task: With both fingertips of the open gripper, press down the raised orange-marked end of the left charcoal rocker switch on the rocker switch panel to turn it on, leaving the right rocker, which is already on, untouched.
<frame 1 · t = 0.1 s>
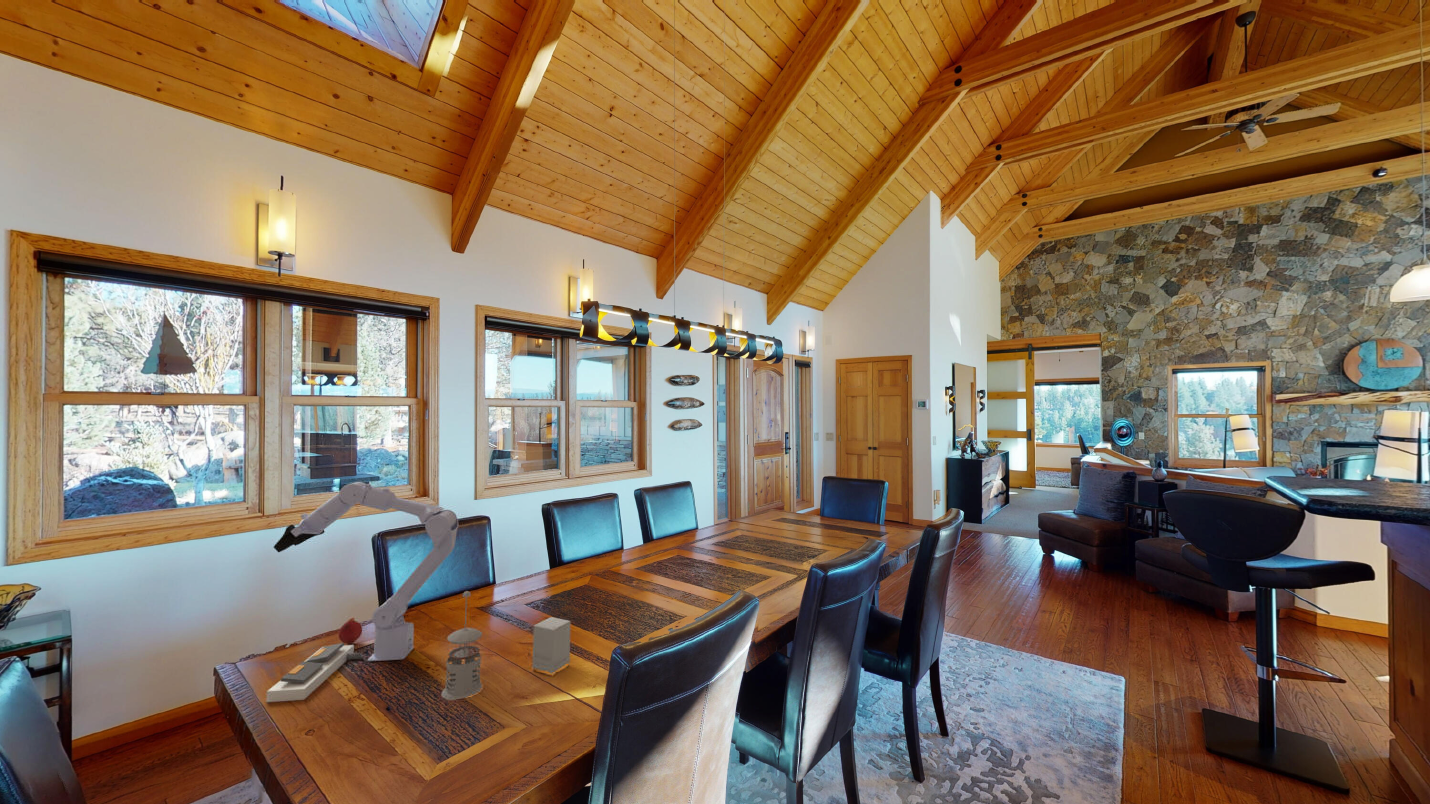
hand: (285, 546, 147), 32 cm above the table, tool tilted 50°, fingers open, 7 cm apart
supplement box: (550, 669, 146), on the table
french press: (462, 689, 134), on the table
rocker switch panel: (313, 675, 139), on the table
onion: (349, 645, 158), on the table
rocker left: (302, 671, 133), point 4 cm above the table, hinge at -10.0°
rocker right: (325, 652, 144), point 4 cm above the table, hinge at 10.0°
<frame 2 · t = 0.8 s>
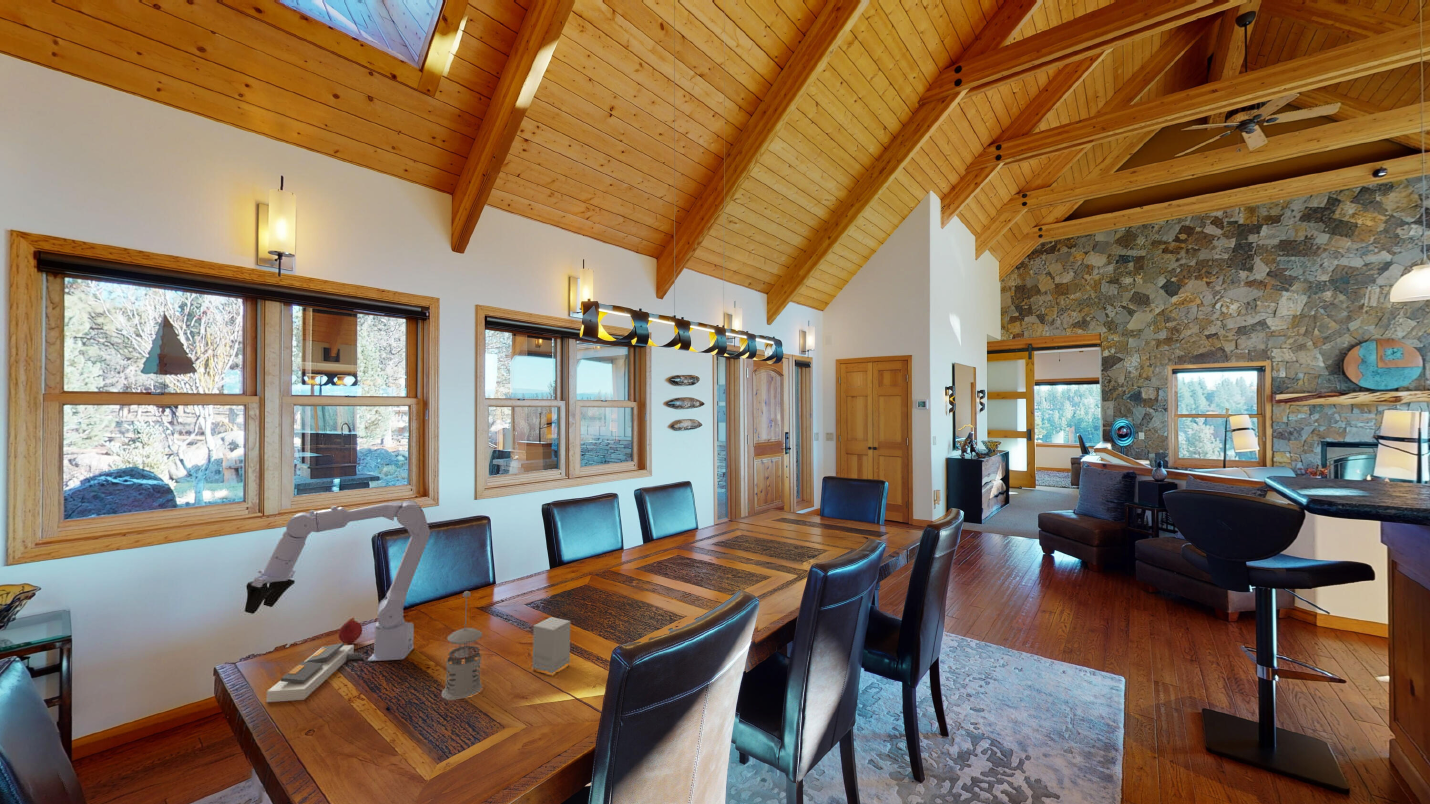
hand: (258, 608, 137), 18 cm above the table, tool tilted 20°, fingers open, 7 cm apart
nothing on the table moved.
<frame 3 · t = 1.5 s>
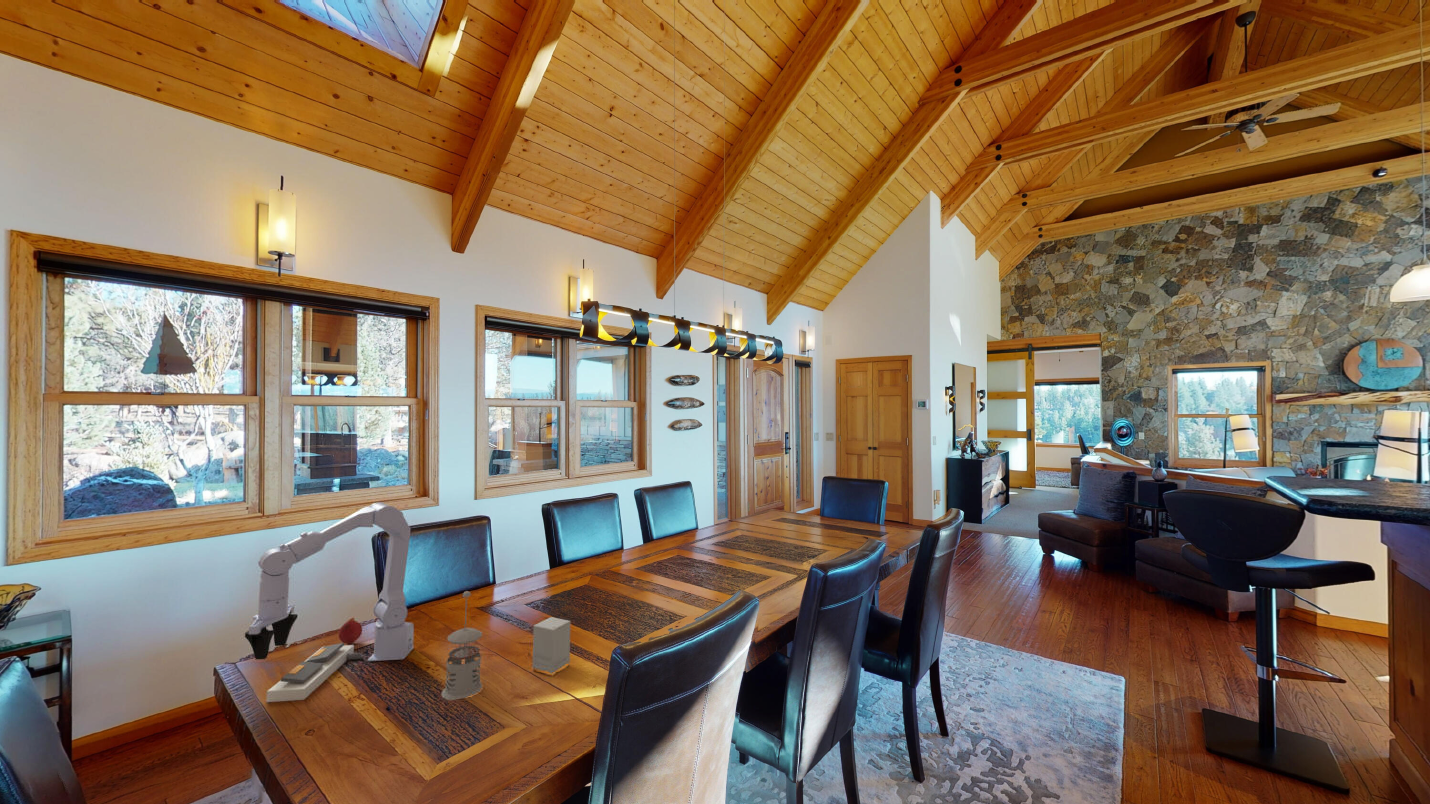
hand: (271, 651, 132), 9 cm above the table, tool pointing down, fingers open, 7 cm apart
nothing on the table moved.
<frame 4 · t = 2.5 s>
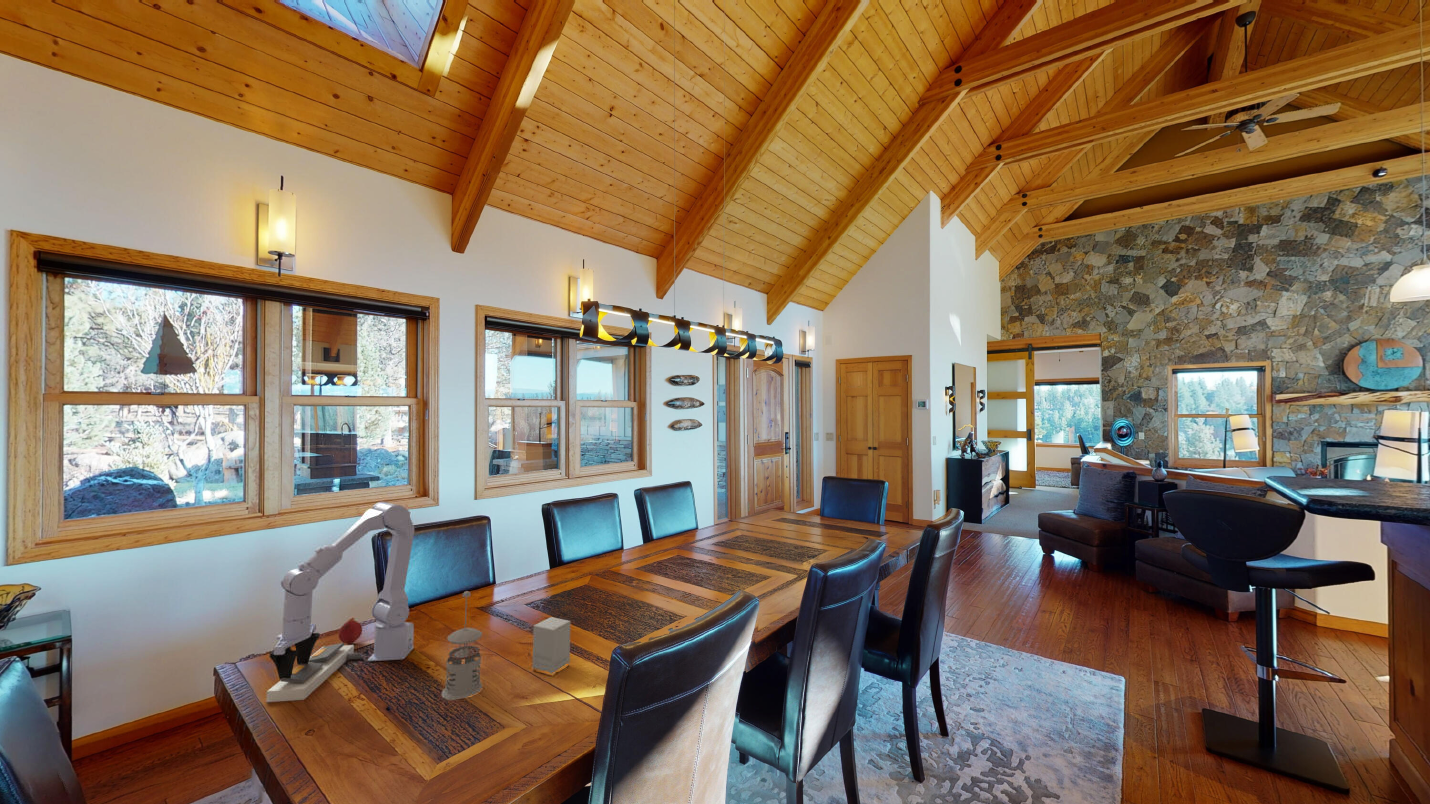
hand: (294, 671, 133), 4 cm above the table, tool pointing down
rocker left: (302, 671, 133), point 4 cm above the table, hinge at -9.9°, touching gripper
everything else where it was.
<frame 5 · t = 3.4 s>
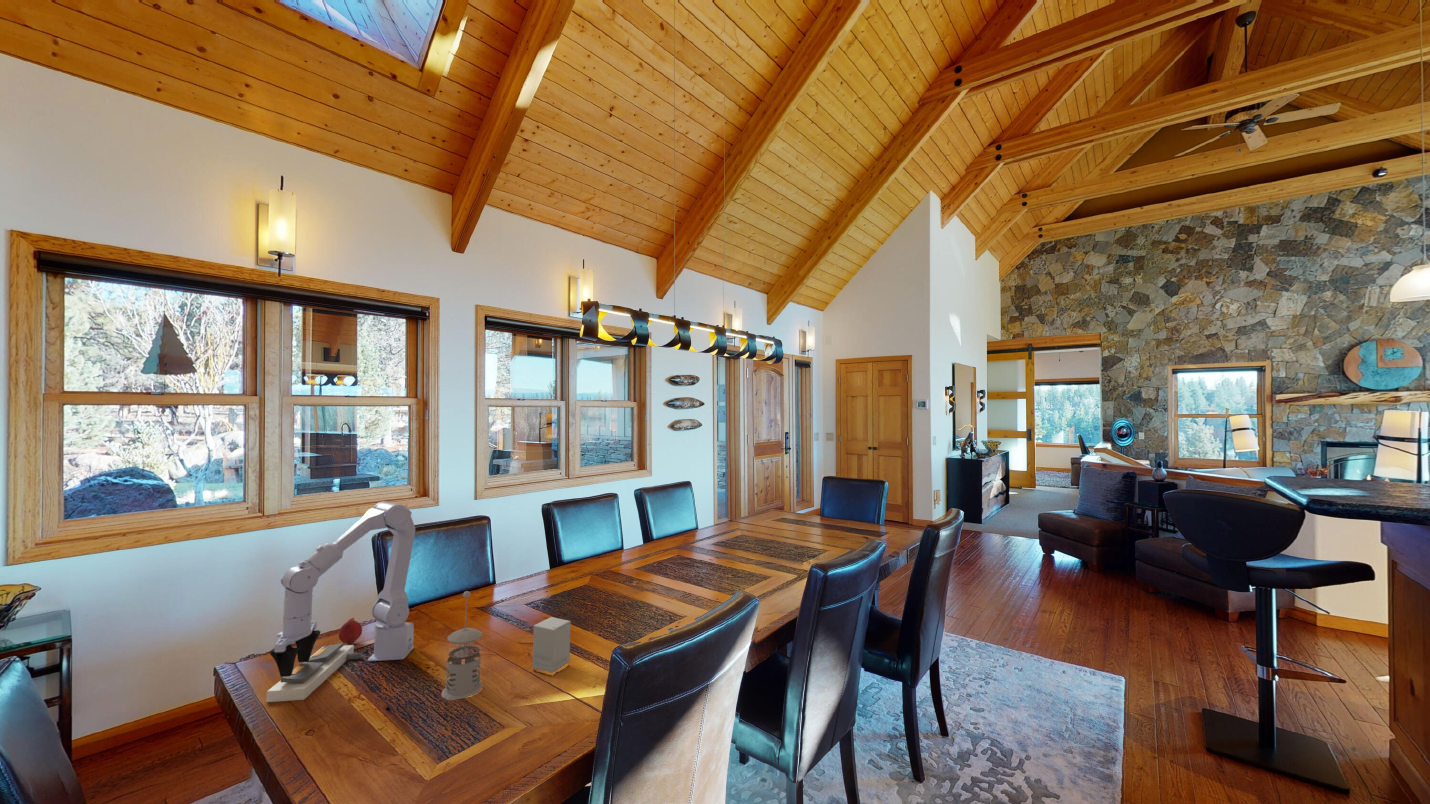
hand: (295, 668, 133), 5 cm above the table, tool pointing down, fingers open, 7 cm apart
rocker left: (302, 671, 133), point 4 cm above the table, hinge at -4.1°
everything else where it was.
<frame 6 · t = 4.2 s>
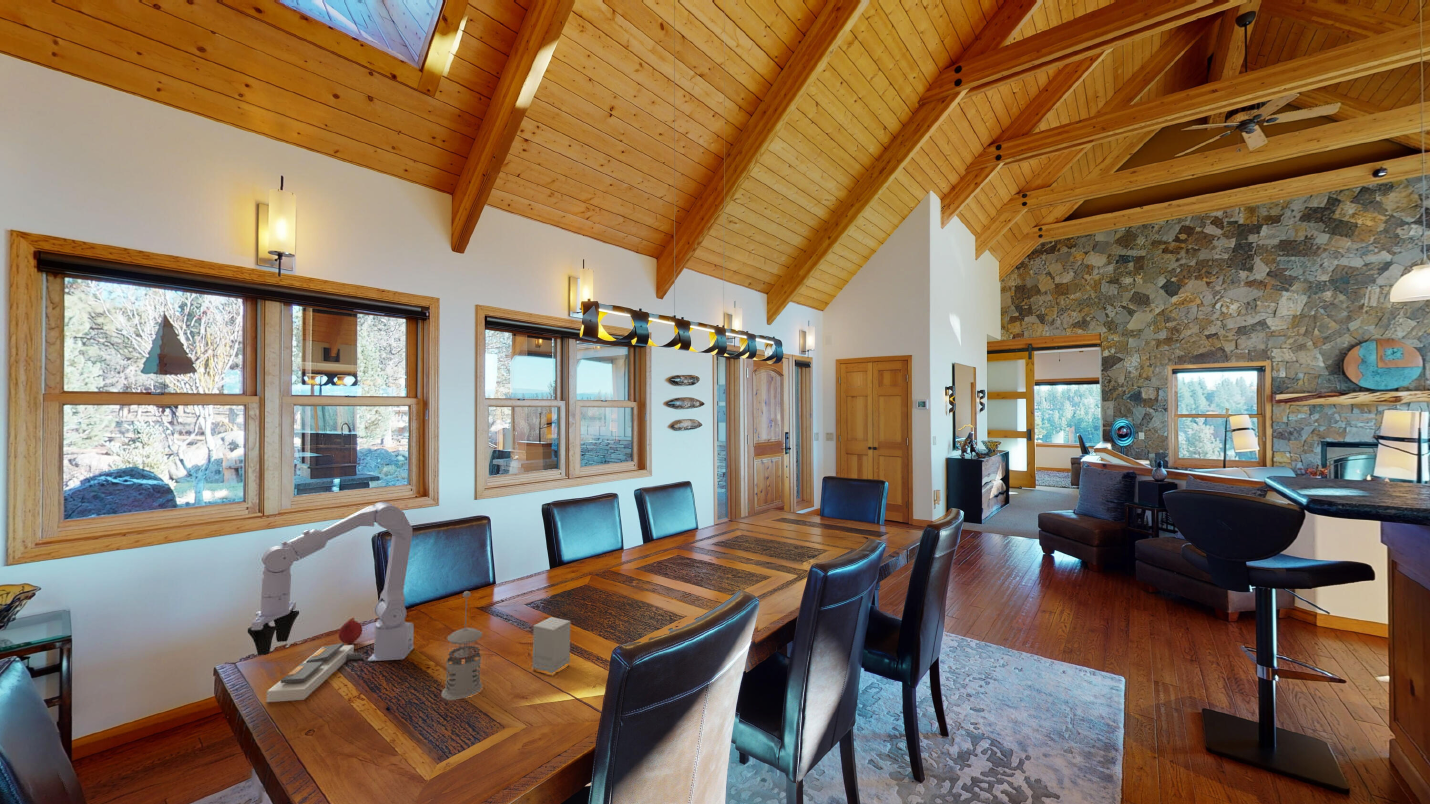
hand: (273, 647, 134), 9 cm above the table, tool pointing down, fingers open, 7 cm apart
rocker left: (302, 671, 133), point 4 cm above the table, hinge at 1.0°
everything else where it was.
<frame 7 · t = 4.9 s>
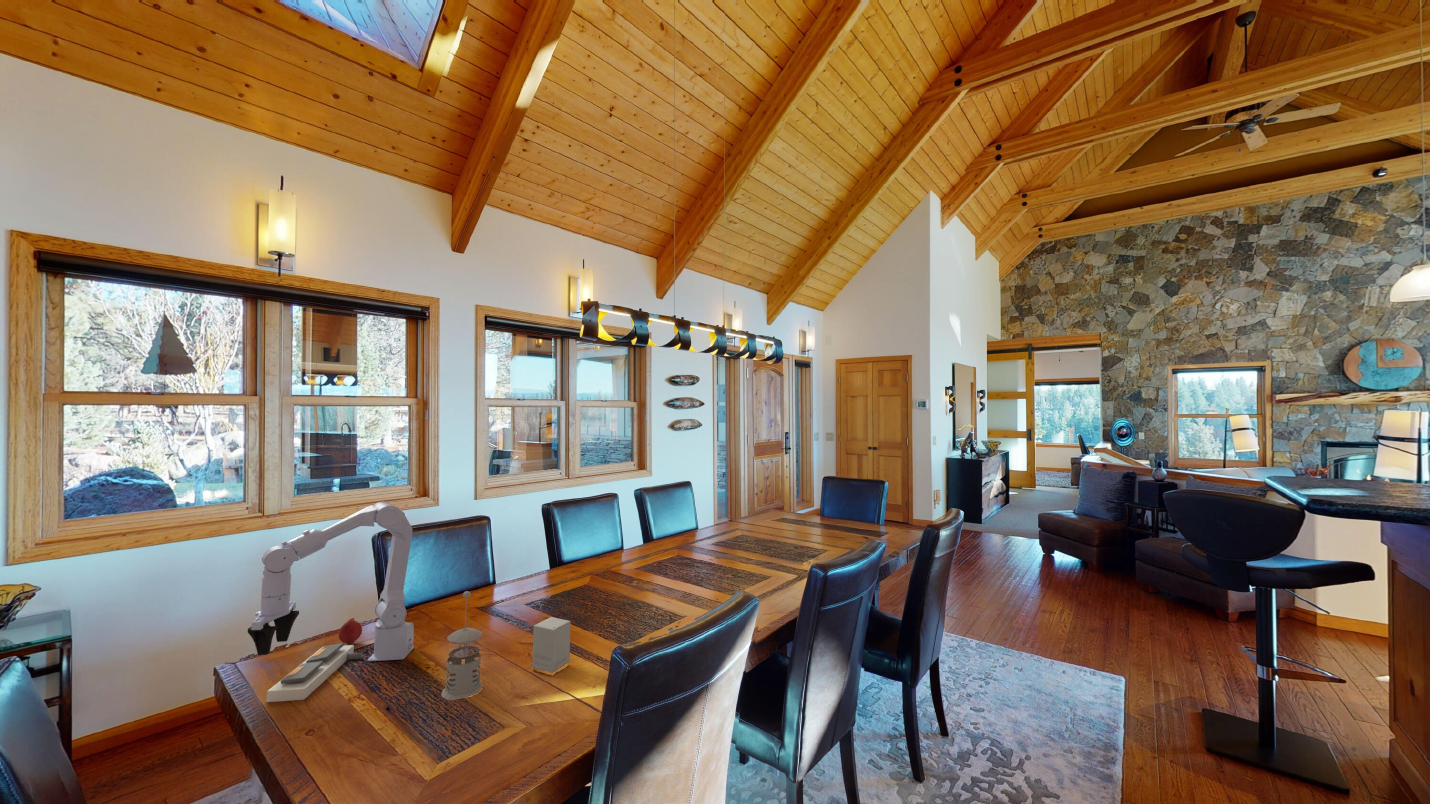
hand: (273, 647, 134), 9 cm above the table, tool pointing down, fingers open, 7 cm apart
rocker left: (302, 671, 133), point 4 cm above the table, hinge at 4.8°
everything else where it was.
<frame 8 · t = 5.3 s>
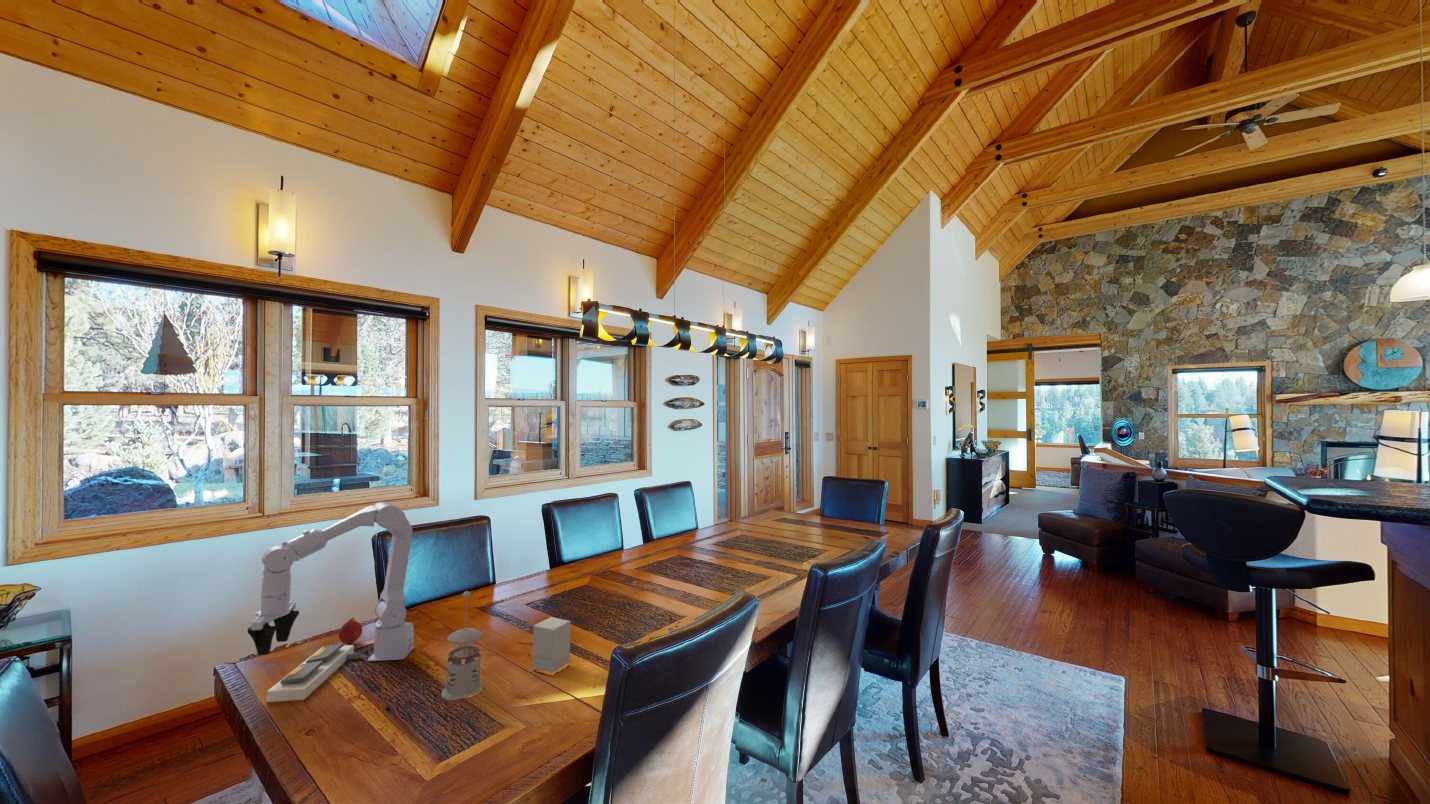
hand: (273, 647, 134), 9 cm above the table, tool pointing down, fingers open, 7 cm apart
rocker left: (302, 671, 133), point 4 cm above the table, hinge at 6.8°
everything else where it was.
at the end: rocker left at +8° (first picture: -10°); rocker right at +10° (first picture: +10°) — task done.
